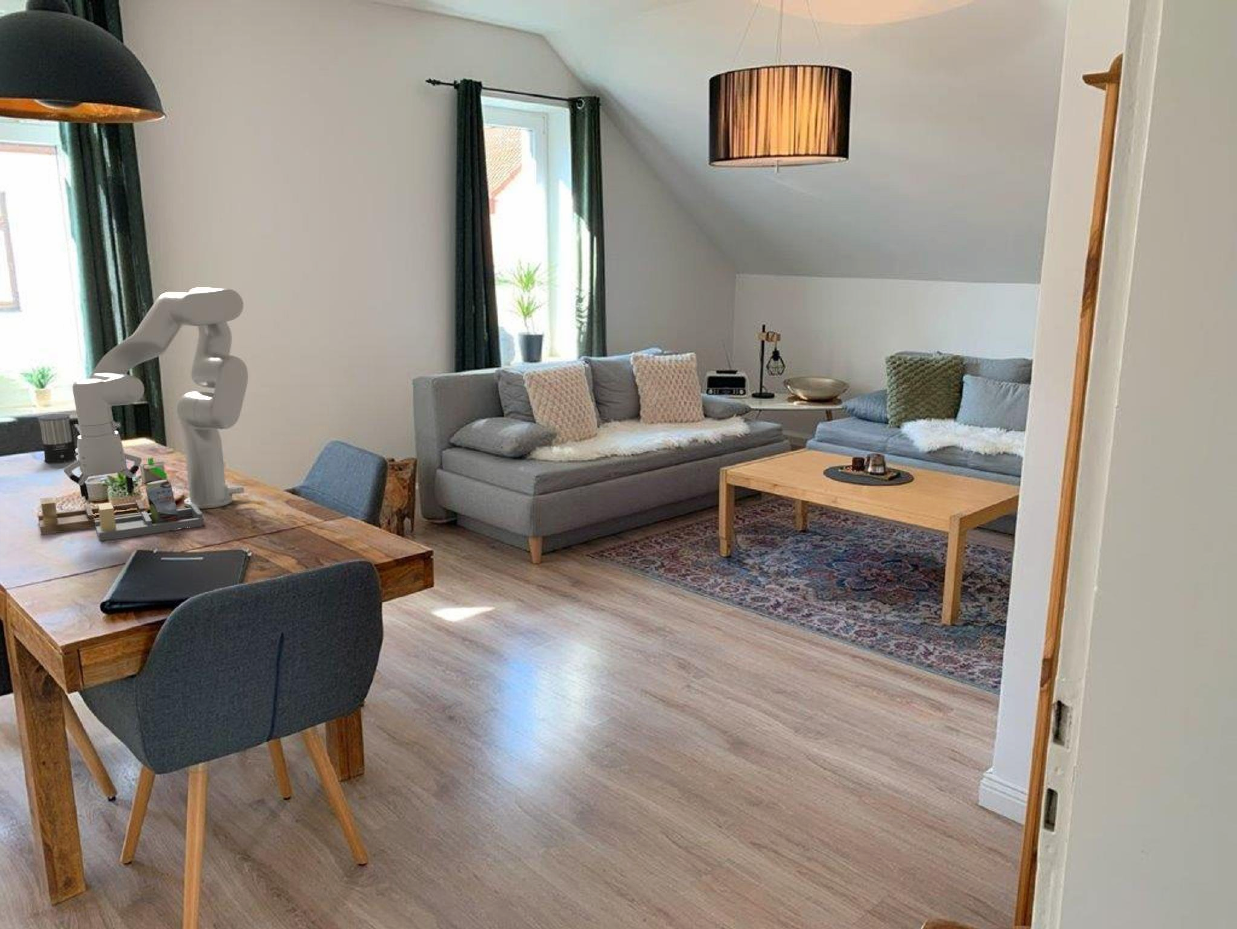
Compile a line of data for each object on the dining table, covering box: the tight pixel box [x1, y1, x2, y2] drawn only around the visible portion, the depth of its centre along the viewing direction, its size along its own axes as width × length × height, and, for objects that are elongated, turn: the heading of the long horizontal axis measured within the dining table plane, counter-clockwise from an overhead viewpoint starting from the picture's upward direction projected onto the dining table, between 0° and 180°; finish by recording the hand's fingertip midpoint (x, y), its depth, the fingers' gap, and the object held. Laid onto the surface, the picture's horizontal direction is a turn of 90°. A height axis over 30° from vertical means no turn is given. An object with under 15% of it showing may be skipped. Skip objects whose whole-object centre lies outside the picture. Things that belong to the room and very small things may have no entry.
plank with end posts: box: [37, 496, 146, 535], centre depth 248 cm, size 24×12×7 cm, turn 123°
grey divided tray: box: [94, 502, 205, 542], centre depth 244 cm, size 24×12×7 cm, turn 123°
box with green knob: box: [139, 457, 168, 484], centre depth 288 cm, size 4×7×8 cm, turn 136°
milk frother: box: [37, 413, 79, 464], centre depth 316 cm, size 14×16×15 cm
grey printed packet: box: [145, 479, 180, 524], centre depth 245 cm, size 6×7×12 cm
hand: (108, 495), depth 238 cm, fingers open, 9 cm apart
